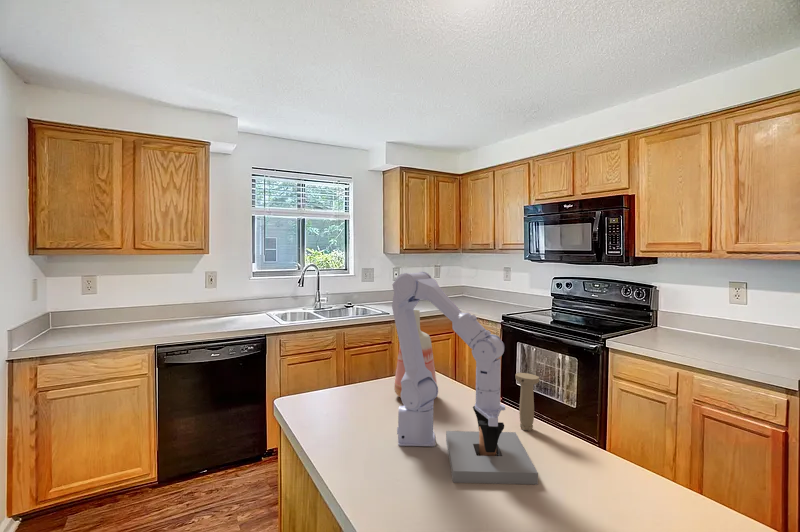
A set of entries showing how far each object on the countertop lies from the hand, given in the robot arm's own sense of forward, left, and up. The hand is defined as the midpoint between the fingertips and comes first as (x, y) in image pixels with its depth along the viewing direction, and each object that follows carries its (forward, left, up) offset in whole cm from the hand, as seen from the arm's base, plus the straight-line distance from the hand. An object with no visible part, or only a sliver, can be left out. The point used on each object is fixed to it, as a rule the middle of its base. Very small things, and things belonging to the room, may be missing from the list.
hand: (487, 443), depth 99 cm
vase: (-17, +42, -4) cm, 45 cm away
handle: (+14, +18, -4) cm, 23 cm away
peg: (0, 0, -4) cm, 4 cm away
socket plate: (0, 0, -4) cm, 4 cm away
